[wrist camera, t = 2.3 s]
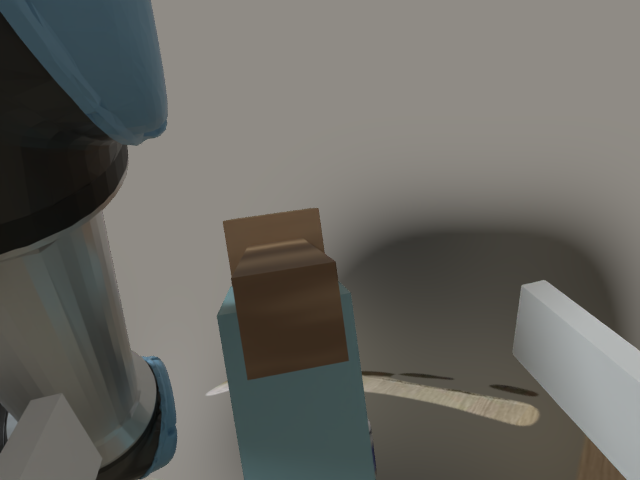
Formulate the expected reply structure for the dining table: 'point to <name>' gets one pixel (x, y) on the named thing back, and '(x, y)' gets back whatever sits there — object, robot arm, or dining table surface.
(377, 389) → the dining table surface
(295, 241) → the brown wooden block
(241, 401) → the stand
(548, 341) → the robot arm
